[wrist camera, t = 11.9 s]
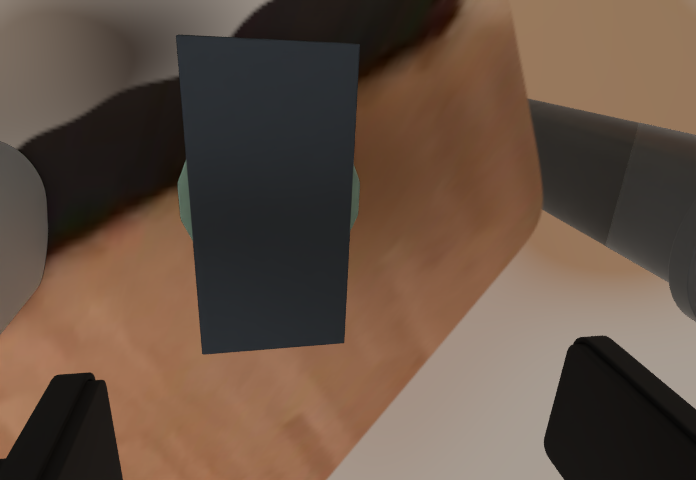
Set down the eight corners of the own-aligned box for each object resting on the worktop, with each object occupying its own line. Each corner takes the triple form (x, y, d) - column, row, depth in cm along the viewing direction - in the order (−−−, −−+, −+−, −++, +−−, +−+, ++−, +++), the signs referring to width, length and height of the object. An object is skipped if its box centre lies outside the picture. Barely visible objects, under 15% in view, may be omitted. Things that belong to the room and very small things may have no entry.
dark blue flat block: (350, 43, 19) (360, 43, 18) (337, 322, 24) (344, 343, 22) (181, 34, 18) (175, 34, 16) (204, 332, 23) (202, 355, 21)
